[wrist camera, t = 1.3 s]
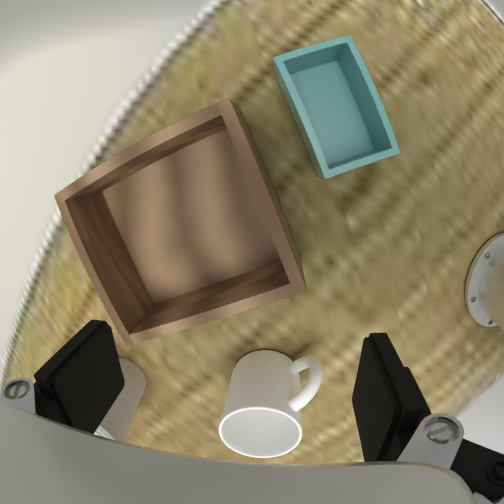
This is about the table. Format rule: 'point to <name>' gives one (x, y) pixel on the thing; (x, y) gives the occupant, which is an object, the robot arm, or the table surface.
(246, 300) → the big crate
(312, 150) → the small crate
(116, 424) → the coffee cup
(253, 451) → the mug
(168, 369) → the table surface
